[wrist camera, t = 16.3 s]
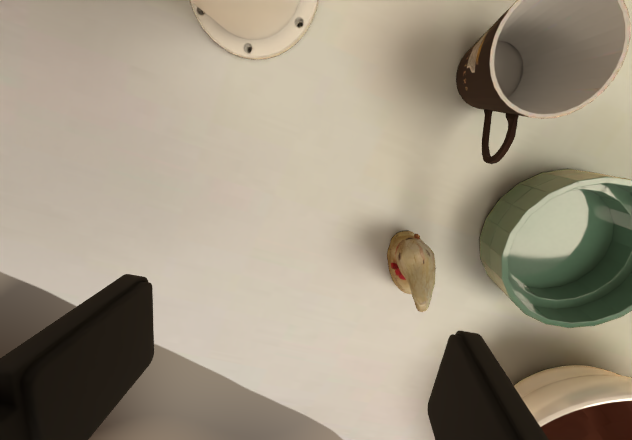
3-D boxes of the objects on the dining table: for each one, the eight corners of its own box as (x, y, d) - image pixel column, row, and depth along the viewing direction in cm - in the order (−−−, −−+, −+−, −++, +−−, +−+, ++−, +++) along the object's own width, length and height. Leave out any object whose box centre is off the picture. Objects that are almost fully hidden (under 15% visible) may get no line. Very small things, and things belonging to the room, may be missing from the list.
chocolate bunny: (441, 234, 35) (478, 274, 26) (416, 292, 37) (441, 348, 28) (395, 220, 35) (414, 255, 26) (373, 279, 38) (383, 332, 28)
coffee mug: (493, 2, 28) (569, -61, 19) (557, 66, 29) (660, 37, 20) (404, 107, 32) (430, 99, 22) (464, 161, 33) (514, 176, 23)
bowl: (502, 159, 32) (533, 165, 27) (652, 180, 32) (714, 191, 26) (462, 286, 37) (481, 313, 32) (592, 308, 36) (634, 339, 31)
